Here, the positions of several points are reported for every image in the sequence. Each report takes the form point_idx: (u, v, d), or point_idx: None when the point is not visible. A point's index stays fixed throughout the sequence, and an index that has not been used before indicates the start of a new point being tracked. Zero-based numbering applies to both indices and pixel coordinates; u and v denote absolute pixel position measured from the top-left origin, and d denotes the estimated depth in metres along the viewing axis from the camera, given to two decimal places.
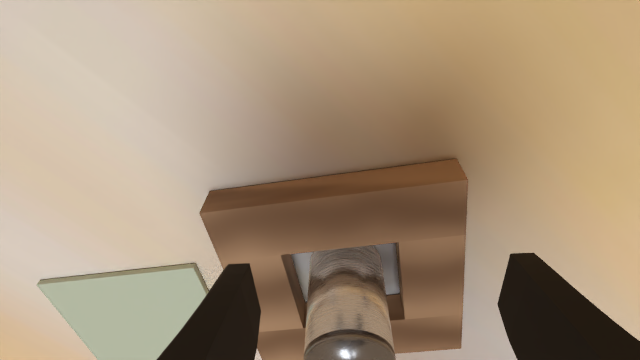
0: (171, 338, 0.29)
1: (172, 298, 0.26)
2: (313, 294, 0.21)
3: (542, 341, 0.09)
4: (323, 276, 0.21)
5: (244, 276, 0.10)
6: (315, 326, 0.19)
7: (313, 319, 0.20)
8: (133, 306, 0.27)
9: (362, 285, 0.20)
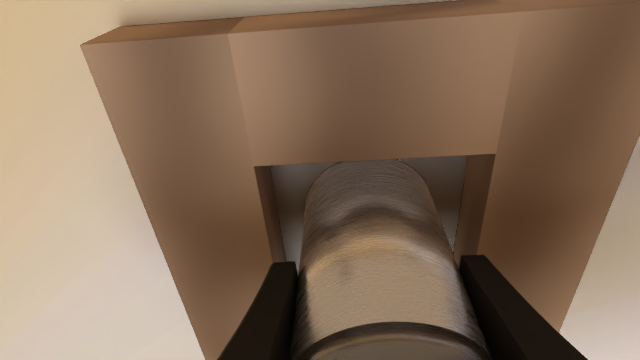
0: None
1: None
2: None
3: None
4: None
5: (292, 274, 0.10)
6: None
7: None
8: None
9: (303, 265, 0.10)
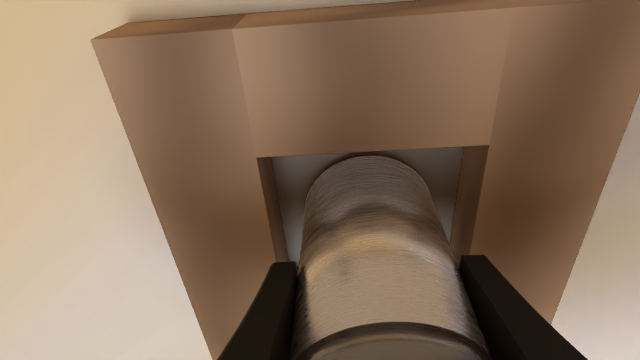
0: None
1: None
2: None
3: None
4: None
5: (292, 274, 0.10)
6: None
7: None
8: None
9: (303, 265, 0.10)
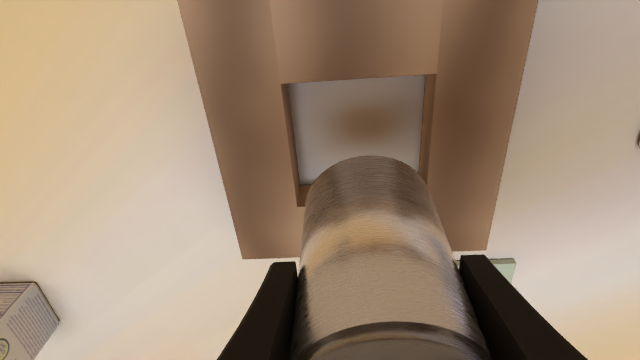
0: None
1: None
2: None
3: None
4: None
5: (292, 274, 0.10)
6: None
7: None
8: None
9: (303, 265, 0.10)
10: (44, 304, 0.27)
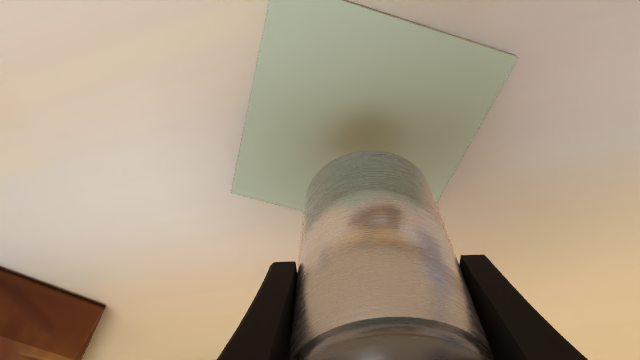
0: (392, 115, 0.19)
1: (319, 56, 0.17)
2: None
3: None
4: None
5: (292, 274, 0.10)
6: None
7: None
8: (309, 117, 0.19)
9: (302, 262, 0.10)
10: None
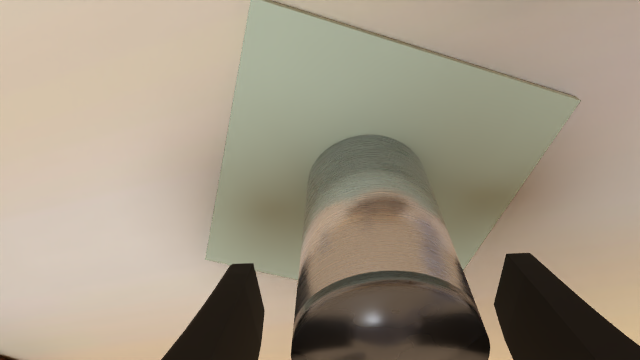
0: None
1: (314, 99, 0.13)
2: None
3: (537, 341, 0.09)
4: None
5: (248, 276, 0.10)
6: None
7: None
8: (302, 173, 0.14)
9: (305, 233, 0.11)
10: None
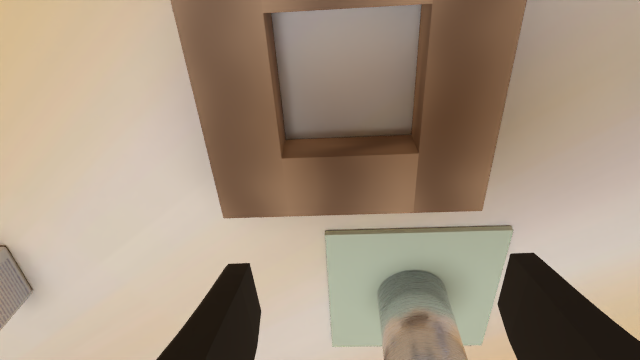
0: None
1: (368, 263, 0.24)
2: None
3: (542, 341, 0.09)
4: None
5: (244, 276, 0.10)
6: None
7: None
8: (373, 295, 0.26)
9: (382, 340, 0.23)
10: (15, 270, 0.26)
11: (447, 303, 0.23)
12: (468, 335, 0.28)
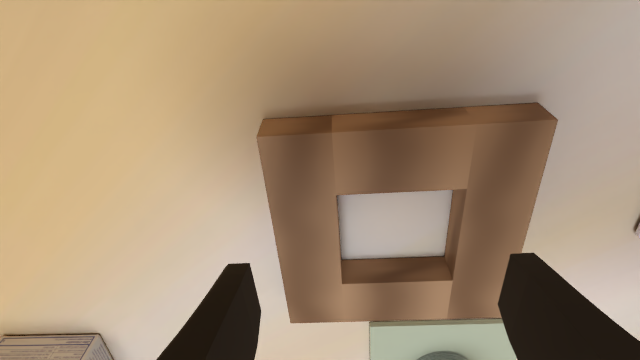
0: None
1: (405, 346, 0.29)
2: None
3: (542, 341, 0.09)
4: None
5: (244, 276, 0.10)
6: None
7: None
8: None
9: None
10: (105, 352, 0.30)
11: None
12: None
